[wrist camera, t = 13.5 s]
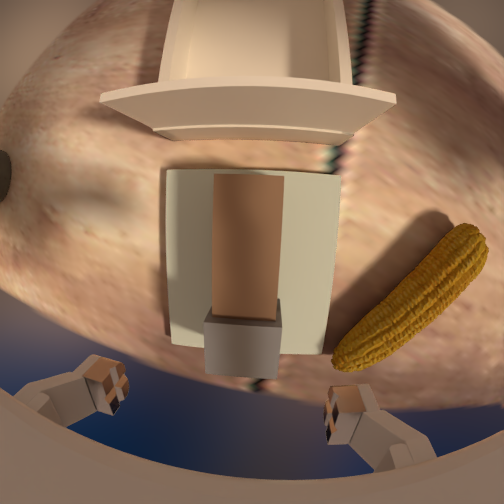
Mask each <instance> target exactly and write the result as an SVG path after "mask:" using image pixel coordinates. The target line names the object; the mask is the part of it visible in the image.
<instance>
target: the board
mask: <svg viewBox="0 0 504 504" xmlns="http://www.w3.org/2000/svg"><path fill="white" fill-rule="evenodd" d="M214 174H255V175H277V176H284V197H283V217H282V235H281V252H280V268H279V282H278V296H277V299H280V305H281V317H282V336H281V346H280V354H322V349H323V343H324V338H325V332H326V326H327V319H328V313H329V306H330V299H331V291H332V284H333V275H334V267H335V257H336V247H337V236H338V224H339V210H340V192H341V176H339V175H329V174H318V173H305V172H291V171H273V170H247V169H175V170H167V177H166V264H167V286H168V303H169V316H170V328H171V339H172V344H177V345H184V346H192V347H201V348H204V330H203V322H204V320H205V318H206V316H207V314H208V312H209V310H210V308H211V306H212V220H213V185H214Z"/></svg>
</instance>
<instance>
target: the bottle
mask: <svg viewBox="0 0 504 504" xmlns="http://www.w3.org/2000/svg"><path fill="white" fill-rule="evenodd" d="M10 179H11V162H10V159H9V156H8V155H7V153H6V152H4V151H2V150H0V202H1V201H2V200H3V199H4V198H5V196H6V194H7V191H8V188H9V184H10Z"/></svg>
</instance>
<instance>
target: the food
mask: <svg viewBox="0 0 504 504" xmlns="http://www.w3.org/2000/svg"><path fill="white" fill-rule="evenodd" d="M479 231H480V230H479V229H478V228H477V226H476V227H475V226H474V225H471V224H467V223H463V224H460V225H458V226H456V227H454V228H453V229H452V230H451V231H450V232H448V233H447V234H446V235H445V236H444V237H443V238H442V239H441V240H440V241H439V243H438V244H437V245H436V246H435V247H434V249H433V250H432V251H431V252H430V253H429V254H428V255H427V256H426V257H425V258H424V259H423V260H422V261H421V262H420V263H419V265H418V266H416V267H415V270H413V271H412V272H411V273H409V274H408V275H407V276H406V277H405V278H404V279H403V280H402V281H401V282H400V283H399V285H398V286H397V287H395V289H394V290H393V291H392V292H391V293H390V294H389V295H388V296H387V297H386V298H385V299H384V300H383V301H381V302H380V304H379V305H377V306H376V307H374V308H373V309H372V310H371V311H370V312H369V313H368V314H367V315H366V316H364V317H363V318H362V319H361V321H360V322H358V323H357V324H356V326H355V327H353V328H352V329H351V330H350V331H349V332H348V333H347V334H346V335H345V336H344V338H343V339H342V340H341V341H340V343H339V345H338V347H336V348H335V349H334V354H333V356H332V357H333V359H331V362H332V364H333V365H334V366H333V367H334V369H338V370H339V371H343V372H353V371H361V370H363V369H366V368H367V367H370V366H372V365H373V364H375V363H377V362H380V361H381V360H383V359H385V358H386V357H388V356H390V355H392V354H393V352H395V351H396V350H397V349H399V348H400V347H401V346H403V345H404V344H405V343H406V342H408V341H409V340H410V339H412V338H413V337H414V335H416V333H419V332H420V331H421V330H422V329H424V328H425V327H426V326H428V325H429V324H430V323H431V322H433V321H434V319H437V316H438V315H441V313H442V312H443V311H444V310H445V309H446V308H447V307H448V306H449V305H450V304H451V303H452V302H453V301H454V300H455V299H456V298H458V296H459V295H460V294H461V292H463V291H464V290H465V289H466V287H467V286H468V285H469V284H470V282H472V281H473V279H476V277H477V276H478V274H479V273H480V272H481V270H482V269H483V267H484V265H485V262H486V259H487V254H488V252H489V250H488V247H487V246H486V244H485V240H486V238H485V237H484V236H483V235H482V234H481V233H479Z"/></svg>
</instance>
